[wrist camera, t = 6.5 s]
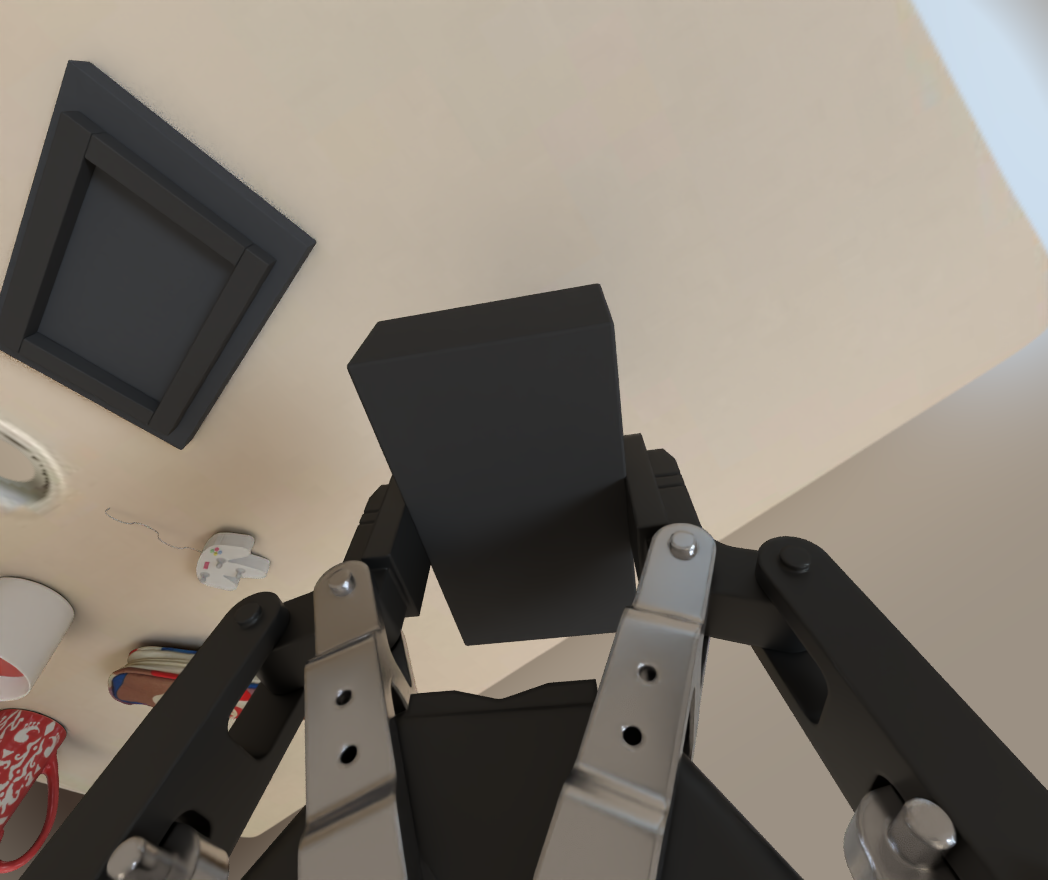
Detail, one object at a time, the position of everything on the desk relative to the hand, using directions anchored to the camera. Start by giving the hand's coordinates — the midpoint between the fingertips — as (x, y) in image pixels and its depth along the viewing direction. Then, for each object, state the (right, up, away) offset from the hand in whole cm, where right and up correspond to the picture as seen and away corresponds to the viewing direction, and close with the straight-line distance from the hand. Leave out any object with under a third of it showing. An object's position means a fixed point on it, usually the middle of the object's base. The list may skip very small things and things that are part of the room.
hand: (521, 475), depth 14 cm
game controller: (-25, -6, +24) cm, 35 cm away
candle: (-43, -13, +29) cm, 53 cm away
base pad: (-20, +9, +13) cm, 26 cm away
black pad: (0, 0, 0) cm, 0 cm away
